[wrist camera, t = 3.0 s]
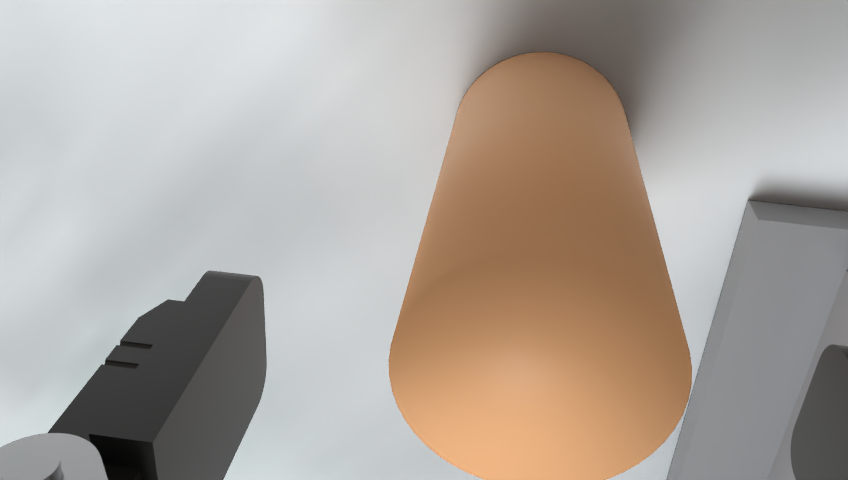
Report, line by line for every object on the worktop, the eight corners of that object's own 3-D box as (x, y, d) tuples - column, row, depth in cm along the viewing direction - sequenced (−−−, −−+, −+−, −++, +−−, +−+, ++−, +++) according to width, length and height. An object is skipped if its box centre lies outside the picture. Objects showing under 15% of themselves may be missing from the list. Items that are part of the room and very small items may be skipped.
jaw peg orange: (461, 43, 18) (395, 231, 10) (642, 61, 17) (726, 270, 9) (447, 204, 20) (383, 468, 12) (610, 222, 19) (657, 507, 11)
